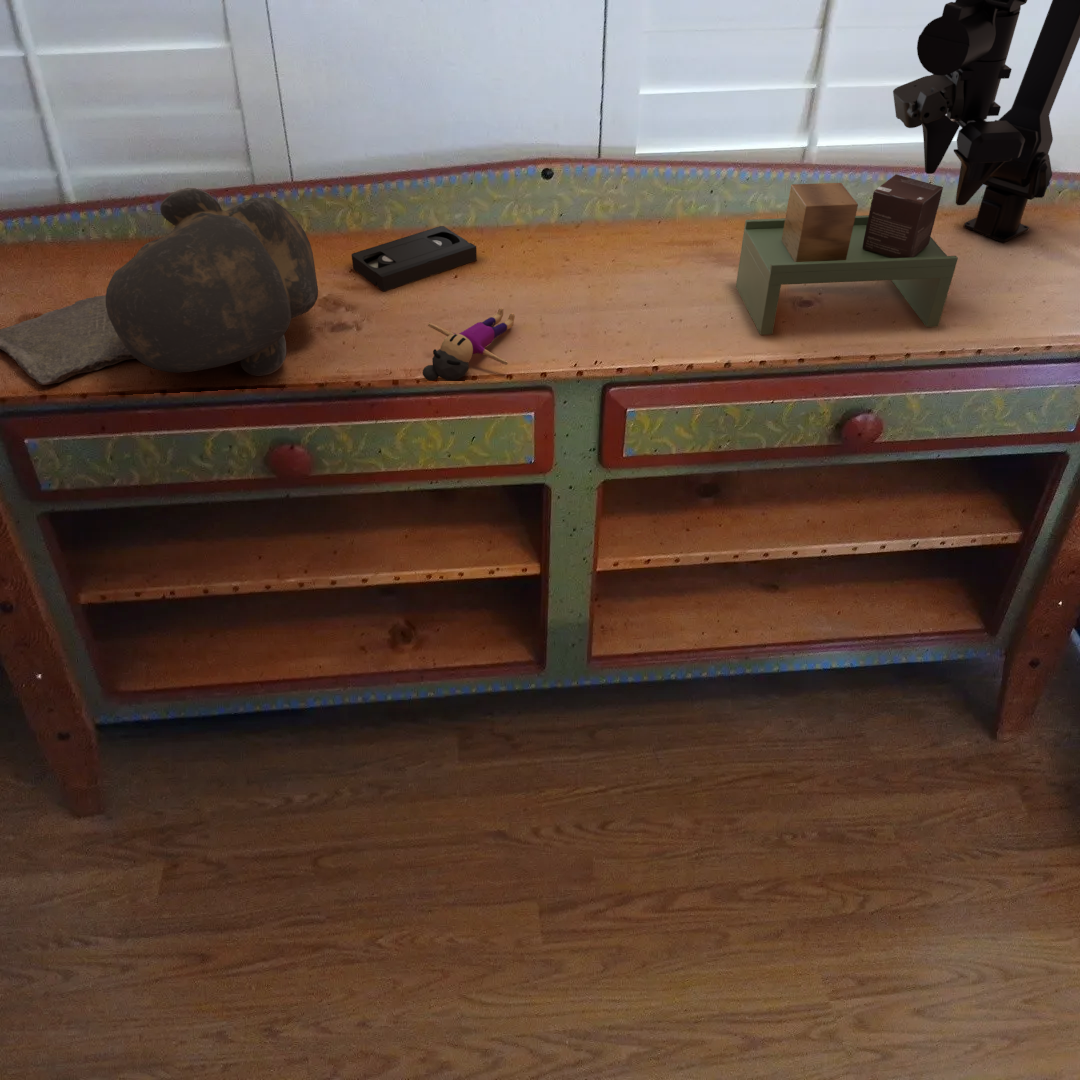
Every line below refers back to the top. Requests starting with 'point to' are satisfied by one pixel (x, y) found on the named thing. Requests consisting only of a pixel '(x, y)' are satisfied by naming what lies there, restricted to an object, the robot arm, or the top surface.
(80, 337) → the stone
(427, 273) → the vhs tape
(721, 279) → the top surface
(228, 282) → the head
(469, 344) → the toy
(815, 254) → the wooden block
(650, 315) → the top surface
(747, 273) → the shelf
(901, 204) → the box
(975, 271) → the top surface
